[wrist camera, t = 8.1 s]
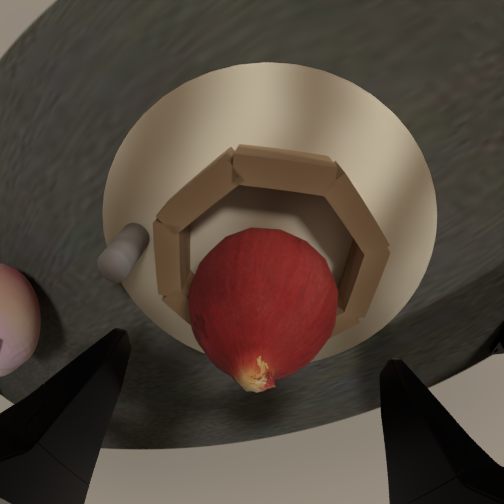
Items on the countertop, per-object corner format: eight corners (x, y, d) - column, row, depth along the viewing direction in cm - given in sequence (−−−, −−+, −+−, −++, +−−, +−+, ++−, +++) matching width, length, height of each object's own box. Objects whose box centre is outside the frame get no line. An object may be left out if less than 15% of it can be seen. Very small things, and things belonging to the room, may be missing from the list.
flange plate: (461, 113, 12) (511, 128, 8) (370, 359, 21) (381, 405, 17) (109, 63, 12) (58, 63, 8) (132, 332, 21) (112, 375, 17)
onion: (272, 316, 17) (254, 444, 10) (192, 253, 16) (125, 374, 9) (352, 255, 15) (383, 392, 8) (267, 174, 13) (233, 280, 6)
